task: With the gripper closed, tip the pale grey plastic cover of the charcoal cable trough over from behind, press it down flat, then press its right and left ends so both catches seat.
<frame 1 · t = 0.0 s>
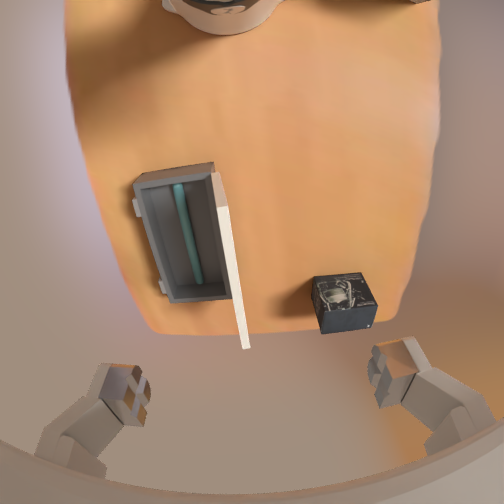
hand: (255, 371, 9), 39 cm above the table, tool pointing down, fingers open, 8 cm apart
box: (335, 284, 59), on the table
trough: (190, 231, 50), on the table
cover: (230, 264, 41), point 11 cm above the table, hinge at 98.0°
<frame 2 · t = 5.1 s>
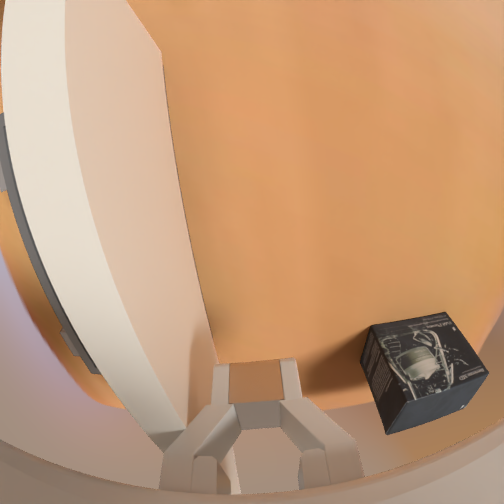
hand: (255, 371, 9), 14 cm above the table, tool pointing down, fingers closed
box: (403, 336, 29), on the table
trough: (117, 231, 22), on the table
cover: (177, 317, 12), point 11 cm above the table, hinge at 97.9°, touching gripper
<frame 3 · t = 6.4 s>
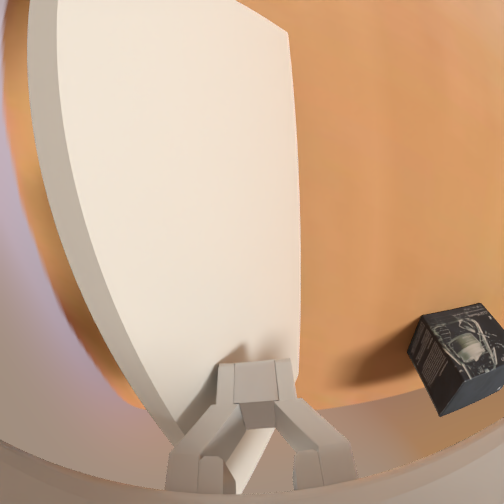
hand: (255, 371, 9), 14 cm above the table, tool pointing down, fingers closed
box: (445, 325, 29), on the table
cover: (247, 309, 12), point 11 cm above the table, hinge at 64.5°, touching gripper
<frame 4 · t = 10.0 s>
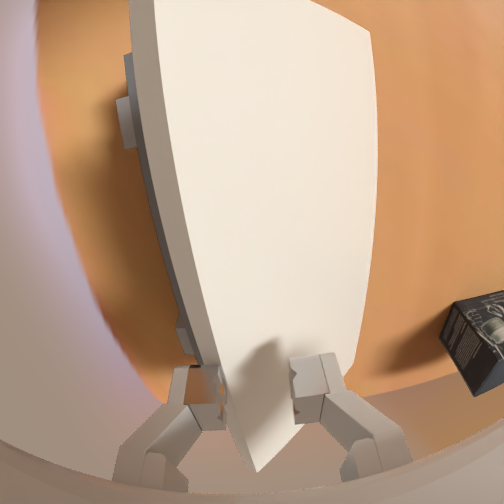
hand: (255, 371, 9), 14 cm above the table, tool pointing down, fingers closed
box: (472, 312, 29), on the table
trough: (255, 210, 22), on the table
cover: (312, 282, 13), point 10 cm above the table, hinge at 45.6°, touching gripper
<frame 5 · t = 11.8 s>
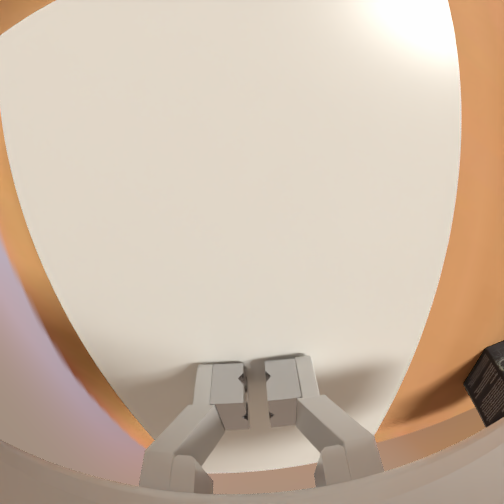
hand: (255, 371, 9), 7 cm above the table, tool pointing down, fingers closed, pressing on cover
box: (500, 353, 22), on the table
cover: (261, 353, 10), point 6 cm above the table, hinge at 2.2°, touching gripper
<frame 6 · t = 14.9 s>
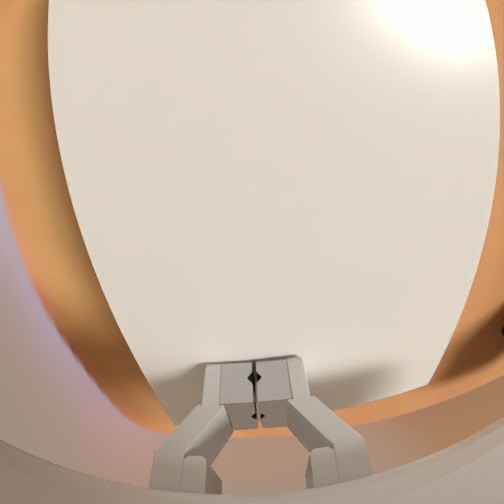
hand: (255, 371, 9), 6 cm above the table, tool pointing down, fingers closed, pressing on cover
cover: (311, 96, 6), point 6 cm above the table, hinge at 1.6°, touching gripper
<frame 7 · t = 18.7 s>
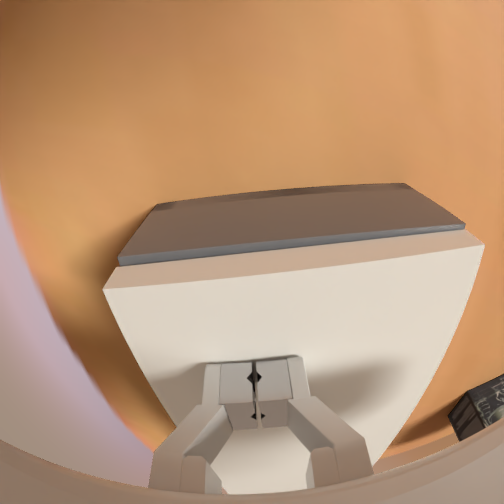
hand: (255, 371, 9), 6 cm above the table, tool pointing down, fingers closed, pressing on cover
box: (481, 391, 26), on the table
trough: (292, 365, 18), on the table
cover: (304, 439, 13), point 6 cm above the table, hinge at 1.1°, touching gripper
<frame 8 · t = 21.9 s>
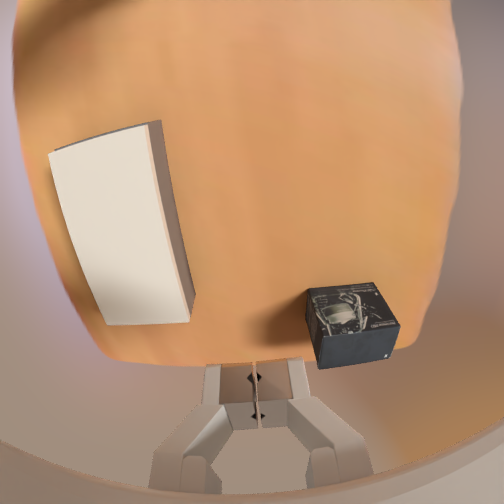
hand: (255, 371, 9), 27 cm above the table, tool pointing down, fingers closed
box: (339, 300, 42), on the table
trough: (134, 221, 35), on the table
cover: (118, 241, 30), point 6 cm above the table, hinge at 0.9°
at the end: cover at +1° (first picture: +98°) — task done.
